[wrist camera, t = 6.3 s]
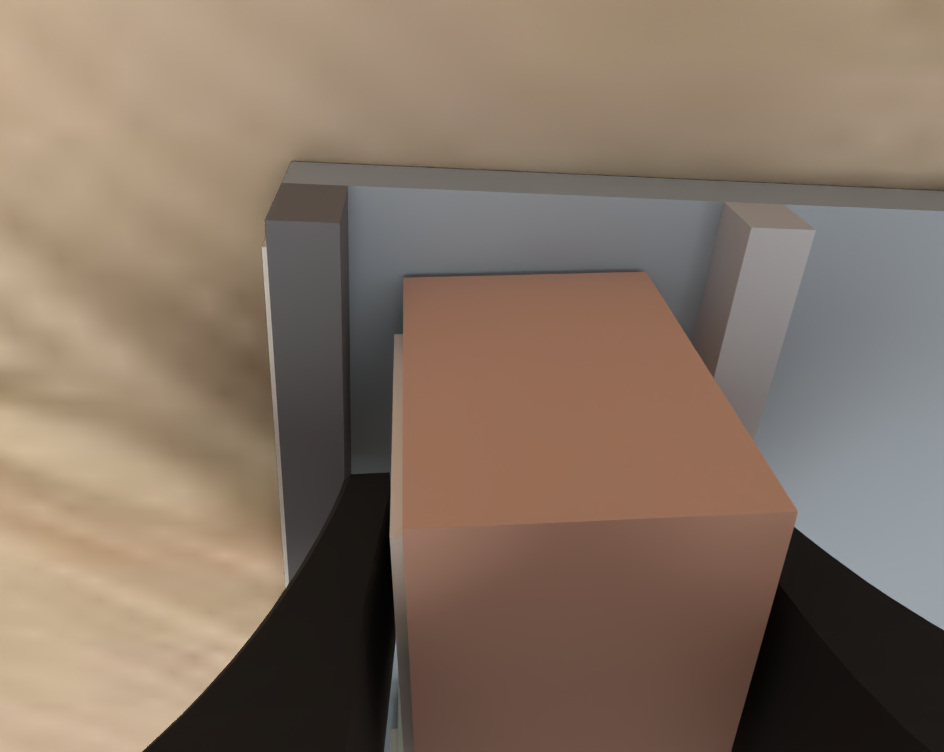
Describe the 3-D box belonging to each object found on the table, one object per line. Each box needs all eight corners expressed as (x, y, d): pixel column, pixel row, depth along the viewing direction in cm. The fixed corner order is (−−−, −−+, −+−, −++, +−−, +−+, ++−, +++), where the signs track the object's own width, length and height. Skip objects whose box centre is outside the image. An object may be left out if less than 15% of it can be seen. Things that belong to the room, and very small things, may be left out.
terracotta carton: (393, 278, 13) (386, 529, 8) (646, 271, 13) (798, 512, 8) (408, 570, 16) (409, 881, 11) (609, 560, 17) (700, 860, 12)
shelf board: (284, 161, 13) (255, 220, 11) (1272, 206, 15) (1445, 266, 12) (318, 806, 22) (306, 920, 20) (932, 789, 24) (993, 892, 21)
